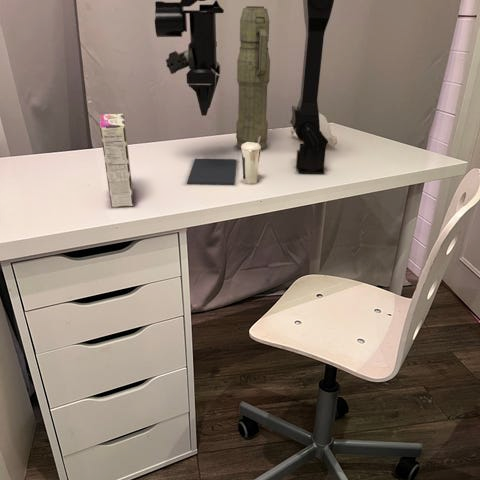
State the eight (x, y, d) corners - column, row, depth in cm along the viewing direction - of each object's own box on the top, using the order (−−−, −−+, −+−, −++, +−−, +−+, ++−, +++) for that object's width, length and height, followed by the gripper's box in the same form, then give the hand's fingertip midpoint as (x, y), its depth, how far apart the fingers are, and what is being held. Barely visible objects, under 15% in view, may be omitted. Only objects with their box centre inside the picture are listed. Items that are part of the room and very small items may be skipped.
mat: (236, 161, 138) (236, 159, 137) (234, 185, 121) (234, 182, 121) (195, 160, 138) (195, 158, 138) (187, 184, 121) (187, 181, 121)
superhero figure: (282, 141, 161) (320, 149, 145) (283, 109, 157) (322, 114, 141) (310, 138, 165) (350, 146, 149) (311, 107, 161) (352, 112, 145)
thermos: (249, 154, 144) (252, 7, 125) (228, 144, 153) (228, 5, 134) (275, 150, 148) (282, 7, 129) (253, 141, 157) (257, 6, 138)
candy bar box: (109, 191, 116) (99, 113, 107) (132, 190, 117) (124, 113, 108) (109, 208, 107) (99, 125, 98) (134, 207, 108) (125, 124, 99)
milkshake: (265, 181, 124) (267, 137, 118) (250, 186, 120) (252, 141, 115) (251, 177, 126) (252, 134, 121) (236, 181, 123) (237, 138, 118)
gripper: (172, 34, 123) (177, 104, 131) (160, 40, 107) (166, 119, 116) (219, 34, 123) (221, 104, 131) (214, 40, 107) (215, 119, 115)
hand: (205, 111), depth 123 cm, fingers open, 9 cm apart
